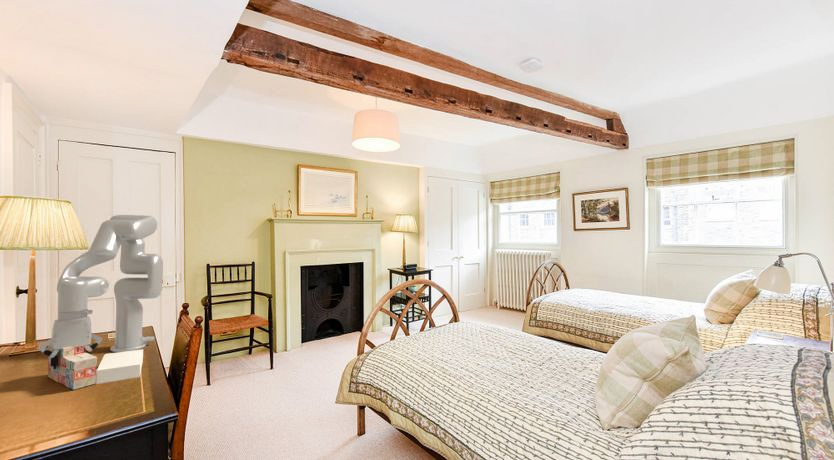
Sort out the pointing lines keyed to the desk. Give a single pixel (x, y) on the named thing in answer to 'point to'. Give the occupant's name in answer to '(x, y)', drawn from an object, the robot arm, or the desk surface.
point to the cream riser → (119, 366)
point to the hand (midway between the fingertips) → (71, 364)
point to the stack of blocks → (73, 367)
